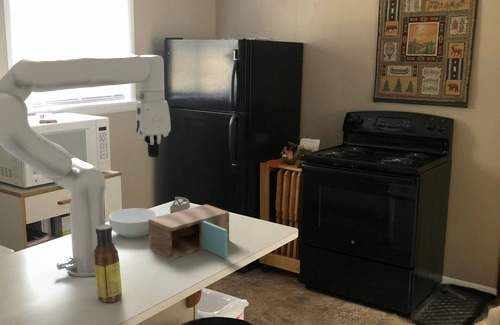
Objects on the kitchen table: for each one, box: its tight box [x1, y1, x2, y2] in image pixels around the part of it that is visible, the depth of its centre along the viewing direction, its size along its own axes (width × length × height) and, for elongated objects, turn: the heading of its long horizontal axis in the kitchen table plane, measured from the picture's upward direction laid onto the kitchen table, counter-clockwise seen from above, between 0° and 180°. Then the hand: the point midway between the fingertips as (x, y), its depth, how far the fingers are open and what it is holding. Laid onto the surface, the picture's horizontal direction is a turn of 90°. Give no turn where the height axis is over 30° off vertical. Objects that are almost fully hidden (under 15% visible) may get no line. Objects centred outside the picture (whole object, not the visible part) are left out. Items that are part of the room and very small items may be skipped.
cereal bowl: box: [108, 207, 159, 239], centre depth 195 cm, size 17×17×7 cm
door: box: [201, 221, 230, 259], centre depth 178 cm, size 12×2×9 cm, turn 42°
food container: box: [169, 196, 191, 214], centre depth 201 cm, size 12×6×10 cm, turn 179°
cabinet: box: [148, 203, 230, 259], centre depth 185 cm, size 24×12×10 cm, turn 134°
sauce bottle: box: [94, 223, 123, 304], centre depth 145 cm, size 7×6×20 cm
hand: (153, 156), depth 173 cm, fingers closed
